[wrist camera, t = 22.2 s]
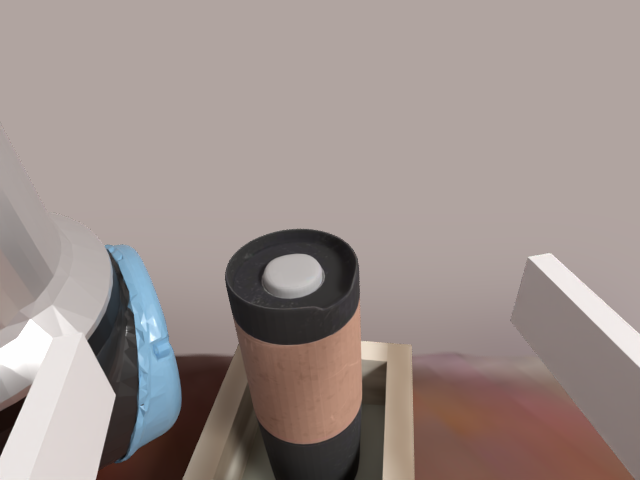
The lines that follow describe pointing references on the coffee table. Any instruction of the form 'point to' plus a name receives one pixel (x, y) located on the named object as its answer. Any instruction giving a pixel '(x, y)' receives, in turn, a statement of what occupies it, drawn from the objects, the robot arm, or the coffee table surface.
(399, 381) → the well
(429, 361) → the coffee table surface
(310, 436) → the travel mug
